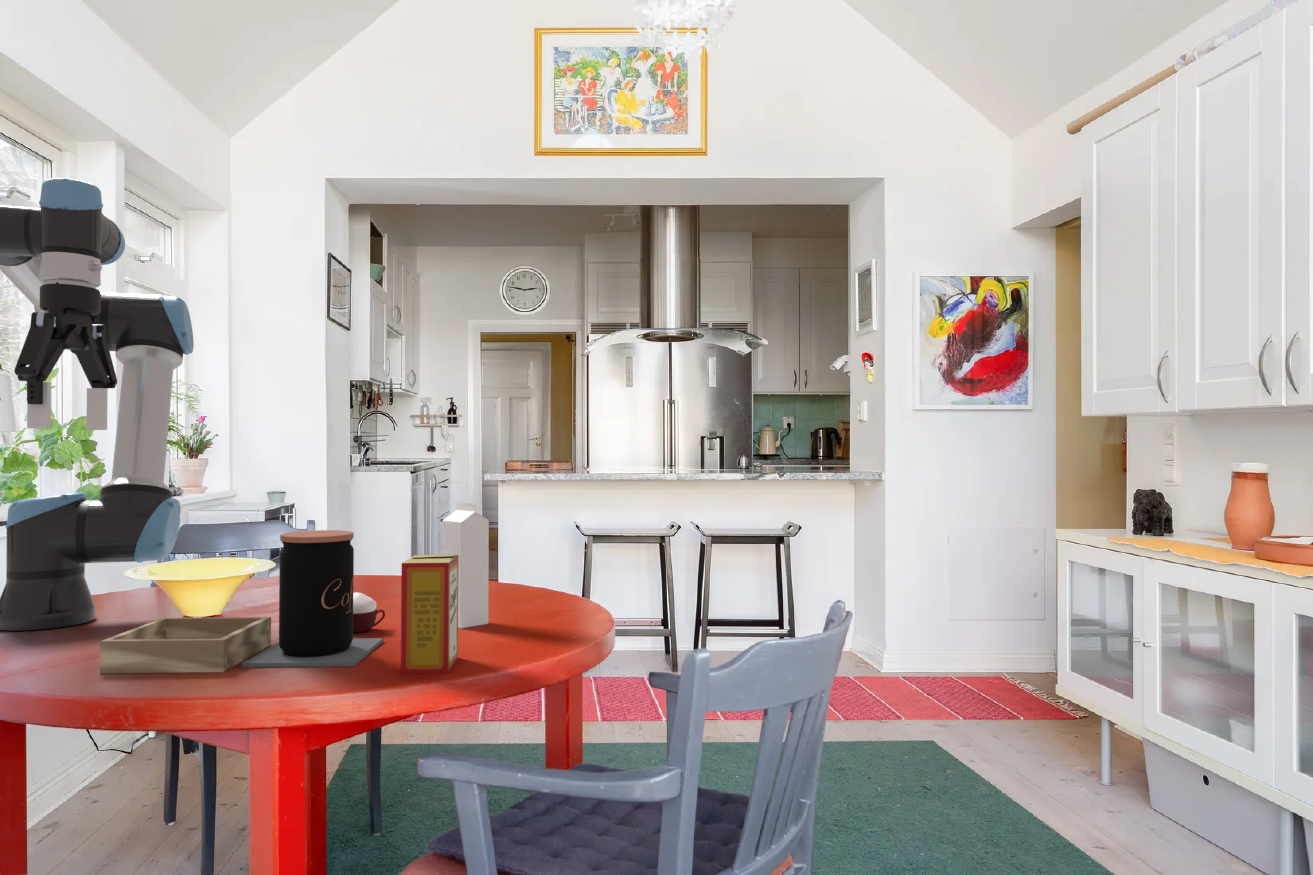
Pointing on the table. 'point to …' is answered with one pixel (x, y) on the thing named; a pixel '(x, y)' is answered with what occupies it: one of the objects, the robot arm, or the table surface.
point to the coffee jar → (316, 592)
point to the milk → (469, 561)
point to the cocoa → (364, 613)
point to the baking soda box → (429, 614)
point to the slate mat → (346, 658)
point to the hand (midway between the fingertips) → (69, 429)
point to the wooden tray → (185, 645)
